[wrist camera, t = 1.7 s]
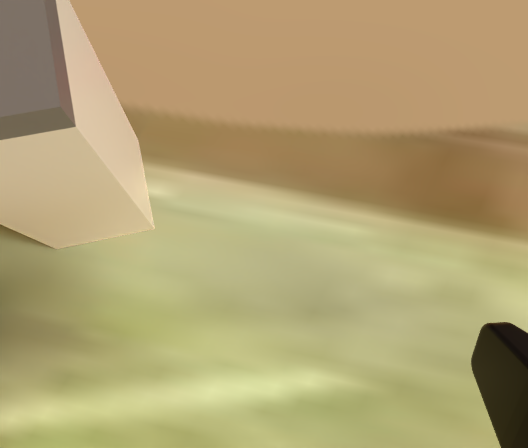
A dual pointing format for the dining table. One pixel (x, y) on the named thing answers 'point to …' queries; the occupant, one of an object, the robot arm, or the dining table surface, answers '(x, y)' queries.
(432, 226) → the dining table surface
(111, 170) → the plug
